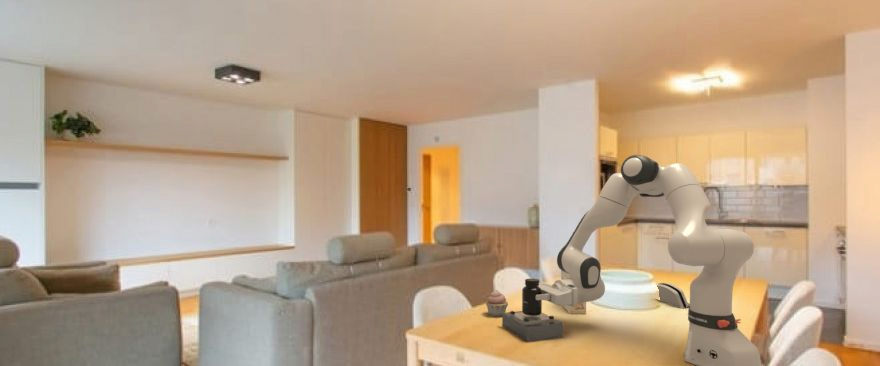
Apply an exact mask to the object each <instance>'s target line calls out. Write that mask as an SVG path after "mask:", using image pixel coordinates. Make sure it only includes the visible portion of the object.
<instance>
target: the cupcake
mask: <svg viewBox="0 0 880 366" xmlns="http://www.w3.org/2000/svg"><path fill="white" fill-rule="evenodd" d="M485 305H486V307H487V312H488V315H489V316H491V317H494V318H495V317H498V318H499V317H500V318H501V317H502V313H506V311H507V308H508V305H509V303H508V301H507V299H506V297H505V295H504V294H503V293H501V292H500V291H499V290H498V289H495V290H493V291H491V293H490V294H489V296H488V297H487V301H485Z"/></svg>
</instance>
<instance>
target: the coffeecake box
mask: <svg viewBox="0 0 880 366" xmlns="http://www.w3.org/2000/svg"><path fill="white" fill-rule="evenodd" d="M571 277H572V275H571V274H568V273H566V272H564V271H562V270H561V269H560V280H561V279H570V278H571ZM561 306H562V307H563V308H564V310H565V311H567V312H568V313H569V314H570V315H587V302H577V306H570V305H561Z"/></svg>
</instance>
